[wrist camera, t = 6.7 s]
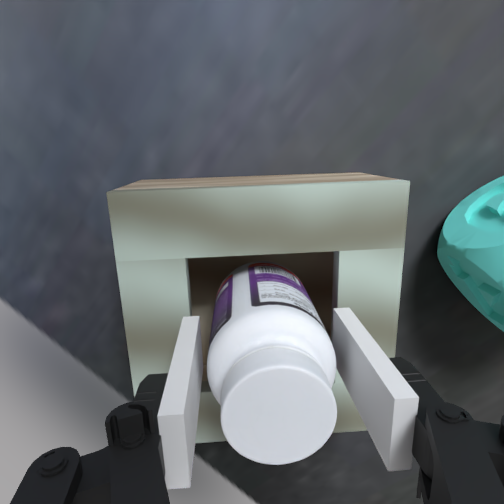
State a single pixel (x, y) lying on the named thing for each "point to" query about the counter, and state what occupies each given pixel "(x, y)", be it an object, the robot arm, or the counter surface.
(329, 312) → the grey hollow square block
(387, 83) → the counter surface
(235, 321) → the pill bottle
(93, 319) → the counter surface
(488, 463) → the robot arm
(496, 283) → the engraved teal number block
